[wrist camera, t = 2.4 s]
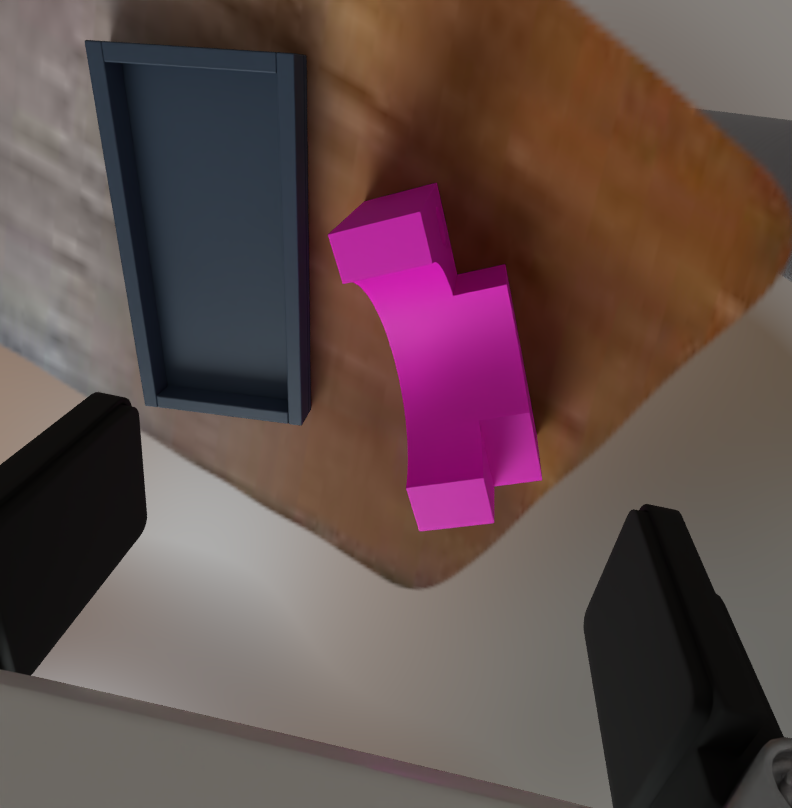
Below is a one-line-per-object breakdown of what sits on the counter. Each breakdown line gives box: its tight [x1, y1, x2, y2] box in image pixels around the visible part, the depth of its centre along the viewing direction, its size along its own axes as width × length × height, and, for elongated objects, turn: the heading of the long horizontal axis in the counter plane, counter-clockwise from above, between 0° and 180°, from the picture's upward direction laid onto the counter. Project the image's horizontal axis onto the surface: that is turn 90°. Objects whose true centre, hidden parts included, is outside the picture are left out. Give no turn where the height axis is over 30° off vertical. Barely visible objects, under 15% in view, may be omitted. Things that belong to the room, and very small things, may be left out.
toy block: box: [328, 183, 542, 531], centre depth 29 cm, size 15×6×8 cm, turn 15°
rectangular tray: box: [85, 40, 311, 425], centre depth 31 cm, size 10×19×2 cm, turn 177°
